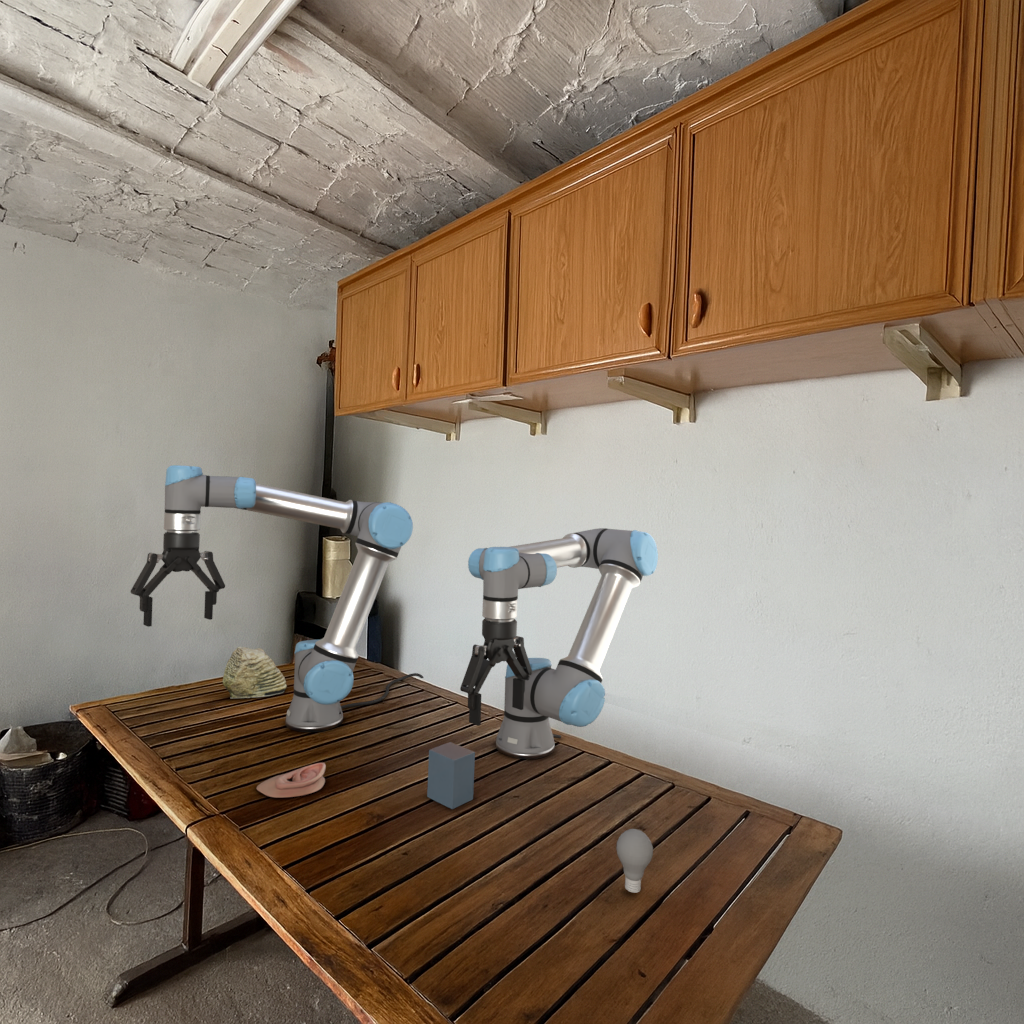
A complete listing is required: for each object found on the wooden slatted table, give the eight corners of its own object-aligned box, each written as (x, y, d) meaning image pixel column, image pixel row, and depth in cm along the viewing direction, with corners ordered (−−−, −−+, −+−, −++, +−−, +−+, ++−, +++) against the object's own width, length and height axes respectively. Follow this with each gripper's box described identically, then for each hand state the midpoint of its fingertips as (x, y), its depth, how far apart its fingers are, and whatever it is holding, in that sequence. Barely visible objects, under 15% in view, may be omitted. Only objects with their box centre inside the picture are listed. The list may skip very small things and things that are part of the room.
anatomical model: (248, 775, 133) (279, 754, 144) (247, 794, 133) (278, 771, 144) (306, 783, 130) (332, 761, 142) (305, 802, 130) (332, 779, 142)
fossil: (218, 695, 195) (220, 647, 195) (278, 685, 208) (279, 640, 207) (228, 703, 189) (230, 653, 188) (289, 692, 201) (290, 645, 201)
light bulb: (610, 879, 108) (613, 822, 108) (644, 879, 109) (647, 822, 109) (619, 902, 102) (622, 840, 102) (655, 901, 103) (658, 840, 103)
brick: (452, 809, 131) (454, 760, 131) (427, 796, 136) (428, 749, 136) (473, 799, 136) (475, 751, 135) (448, 787, 141) (450, 741, 140)
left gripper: (128, 533, 136) (125, 631, 137) (241, 532, 155) (238, 618, 156) (116, 531, 141) (113, 625, 141) (227, 530, 160) (224, 613, 160)
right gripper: (470, 630, 125) (467, 735, 126) (549, 614, 144) (546, 706, 144) (444, 623, 130) (442, 725, 131) (524, 609, 149) (521, 698, 149)
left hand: (178, 622), depth 148 cm, fingers open, 13 cm apart
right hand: (497, 715), depth 138 cm, fingers open, 13 cm apart
